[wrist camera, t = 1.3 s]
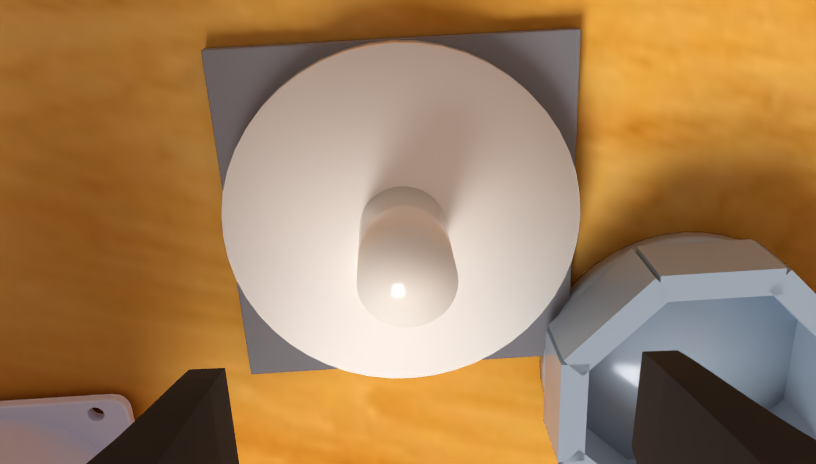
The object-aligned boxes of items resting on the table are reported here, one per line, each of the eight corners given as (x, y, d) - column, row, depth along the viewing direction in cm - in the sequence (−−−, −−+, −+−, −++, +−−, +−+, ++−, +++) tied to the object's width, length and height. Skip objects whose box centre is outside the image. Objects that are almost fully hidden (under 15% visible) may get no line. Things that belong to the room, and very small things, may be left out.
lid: (251, 373, 23) (225, 466, 19) (201, 50, 19) (155, 82, 15) (567, 353, 23) (606, 441, 19) (580, 29, 19) (633, 55, 15)
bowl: (537, 468, 25) (555, 529, 23) (542, 240, 22) (564, 281, 19) (782, 452, 26) (827, 510, 23) (824, 223, 22) (882, 262, 20)
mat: (253, 367, 23) (251, 374, 23) (204, 48, 20) (201, 50, 19) (564, 347, 24) (567, 354, 23) (577, 27, 20) (580, 29, 19)
